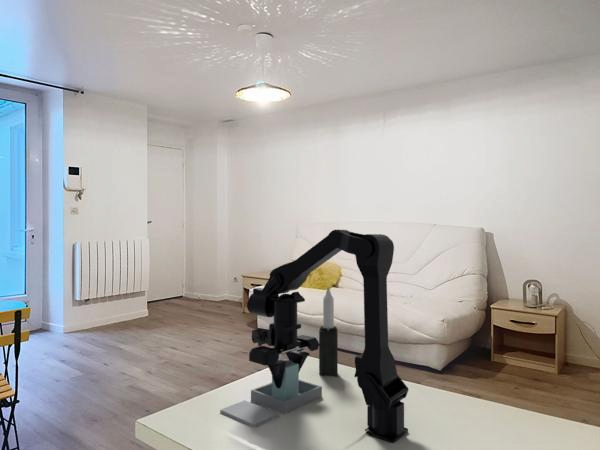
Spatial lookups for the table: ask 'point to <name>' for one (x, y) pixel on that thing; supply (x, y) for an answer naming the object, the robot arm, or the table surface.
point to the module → (287, 382)
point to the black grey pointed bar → (328, 339)
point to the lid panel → (249, 413)
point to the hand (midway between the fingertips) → (285, 385)
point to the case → (305, 396)
